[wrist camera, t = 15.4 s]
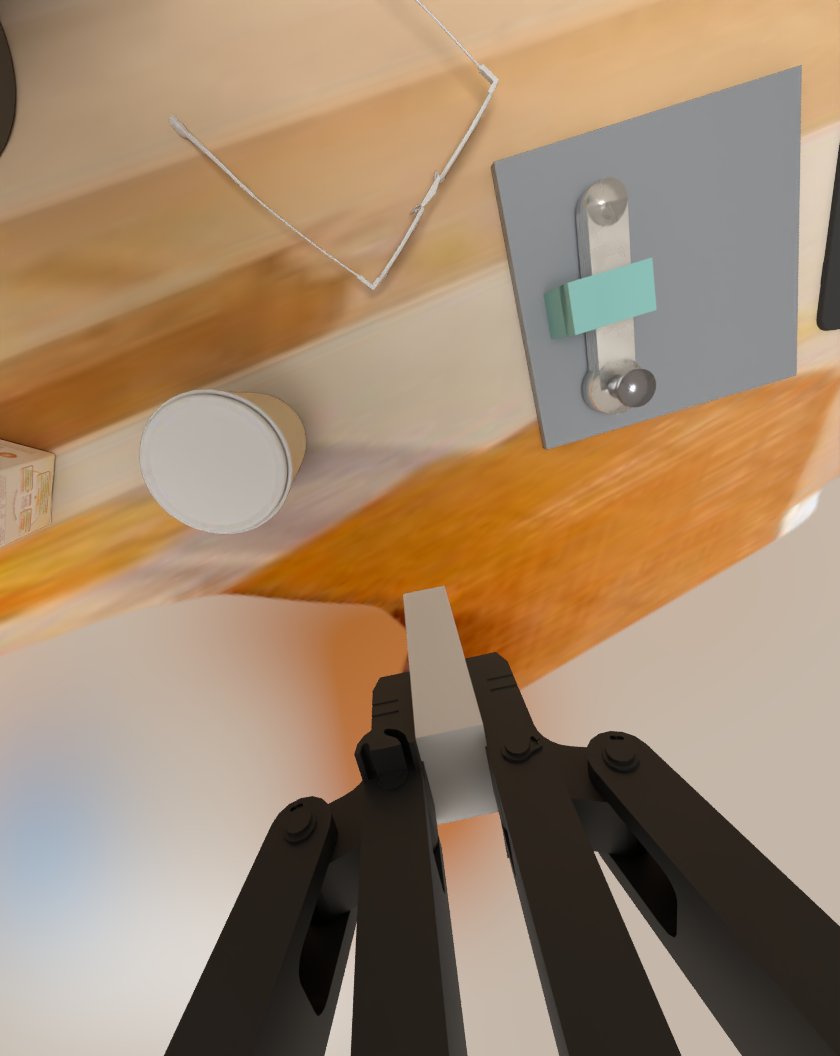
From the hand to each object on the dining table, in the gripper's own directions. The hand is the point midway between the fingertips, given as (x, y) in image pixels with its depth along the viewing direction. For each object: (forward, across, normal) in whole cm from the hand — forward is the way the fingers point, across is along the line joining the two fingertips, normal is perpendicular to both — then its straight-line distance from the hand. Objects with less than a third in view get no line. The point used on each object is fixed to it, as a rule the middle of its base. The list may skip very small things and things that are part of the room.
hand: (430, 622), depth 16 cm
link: (+25, +19, +10) cm, 33 cm away
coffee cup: (+27, -12, +5) cm, 29 cm away
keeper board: (+26, +24, +11) cm, 37 cm away
